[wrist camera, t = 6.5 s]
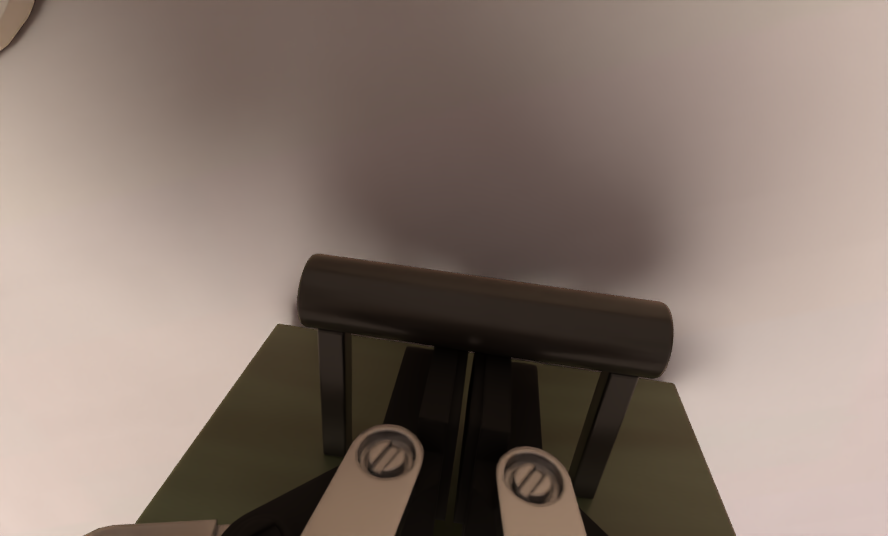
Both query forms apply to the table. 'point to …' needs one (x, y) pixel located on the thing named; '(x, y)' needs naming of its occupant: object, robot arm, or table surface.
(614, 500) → the drawer
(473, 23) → the table surface
